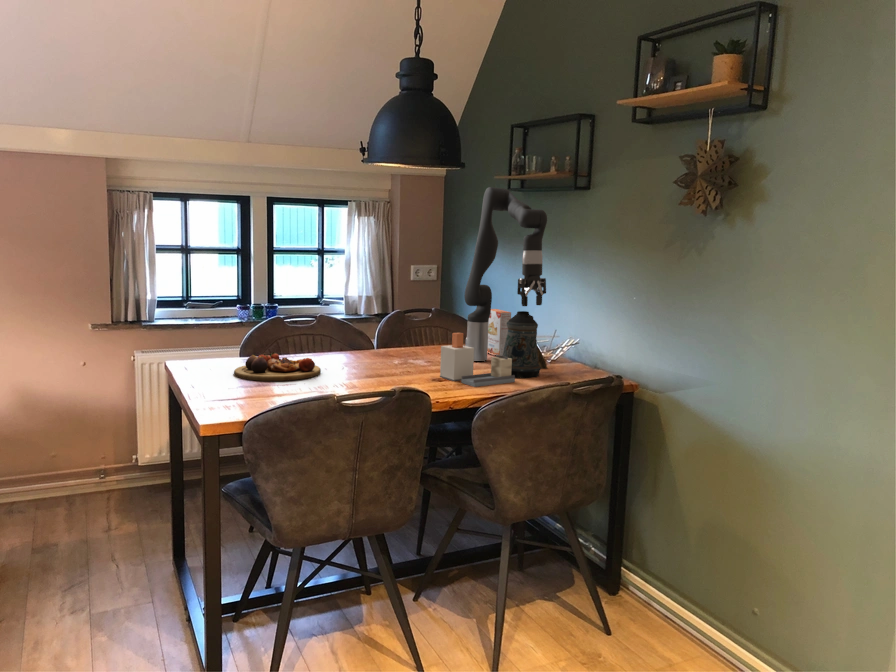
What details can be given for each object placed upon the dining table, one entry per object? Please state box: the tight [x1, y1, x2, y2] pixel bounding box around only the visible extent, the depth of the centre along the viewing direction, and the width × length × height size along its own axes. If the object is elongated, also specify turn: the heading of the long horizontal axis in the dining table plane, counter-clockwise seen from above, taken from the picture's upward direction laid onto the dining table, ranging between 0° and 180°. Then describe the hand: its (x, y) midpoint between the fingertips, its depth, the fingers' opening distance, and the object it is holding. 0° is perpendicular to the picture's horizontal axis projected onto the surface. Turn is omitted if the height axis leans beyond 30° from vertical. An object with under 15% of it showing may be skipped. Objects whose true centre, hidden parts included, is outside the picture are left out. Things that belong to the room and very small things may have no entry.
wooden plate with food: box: [233, 351, 322, 382], centre depth 266 cm, size 32×32×8 cm
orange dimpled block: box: [451, 332, 464, 348], centre depth 266 cm, size 3×3×9 cm
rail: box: [460, 372, 516, 388], centre depth 262 cm, size 8×19×2 cm, turn 125°
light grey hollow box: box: [439, 344, 474, 382], centre depth 267 cm, size 9×9×12 cm
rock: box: [537, 345, 548, 370], centre depth 297 cm, size 11×9×10 cm
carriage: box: [490, 355, 512, 377], centre depth 265 cm, size 6×5×8 cm
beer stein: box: [502, 310, 541, 379], centre depth 279 cm, size 16×19×25 cm
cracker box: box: [488, 308, 512, 356], centre depth 323 cm, size 14×6×21 cm, turn 25°
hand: (531, 305), depth 267 cm, fingers open, 8 cm apart
